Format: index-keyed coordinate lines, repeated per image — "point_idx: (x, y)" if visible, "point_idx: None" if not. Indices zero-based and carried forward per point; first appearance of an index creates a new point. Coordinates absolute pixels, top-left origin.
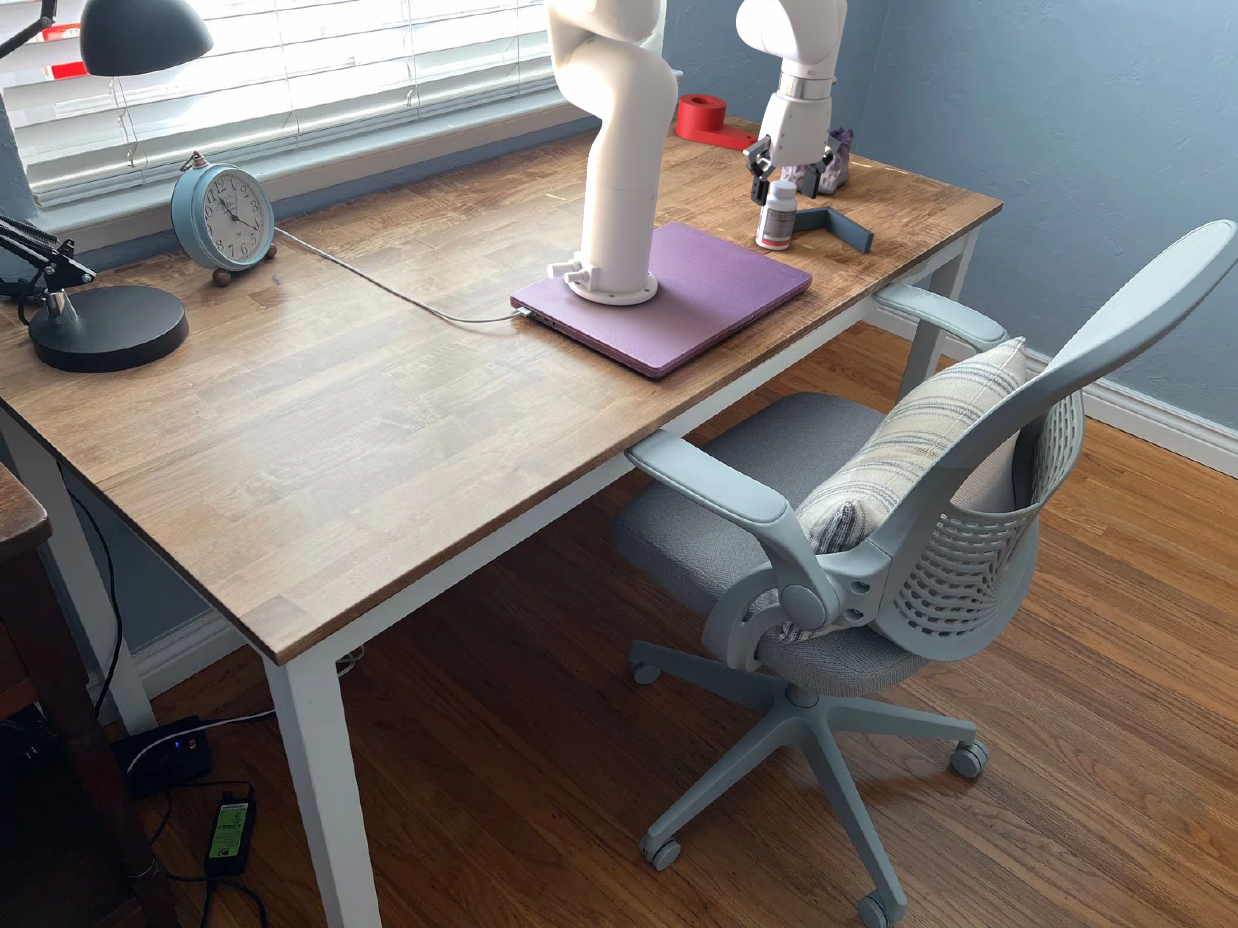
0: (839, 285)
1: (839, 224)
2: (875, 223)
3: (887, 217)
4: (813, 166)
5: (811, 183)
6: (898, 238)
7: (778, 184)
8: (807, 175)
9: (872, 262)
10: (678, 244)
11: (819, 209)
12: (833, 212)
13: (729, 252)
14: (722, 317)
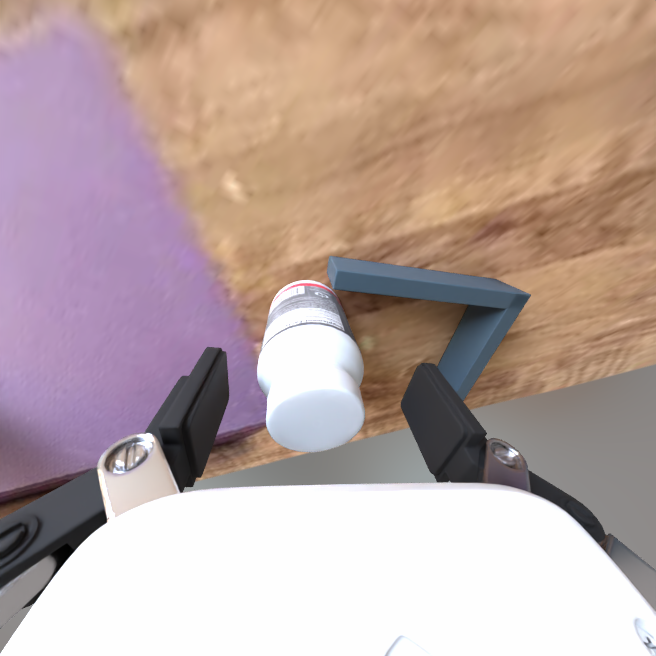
0: None
1: (471, 342)
2: (574, 313)
3: (622, 301)
4: (473, 478)
5: (423, 431)
6: (528, 367)
7: (293, 420)
8: (444, 428)
9: None
10: (44, 218)
11: (491, 302)
12: (497, 326)
13: (183, 309)
14: (64, 460)
